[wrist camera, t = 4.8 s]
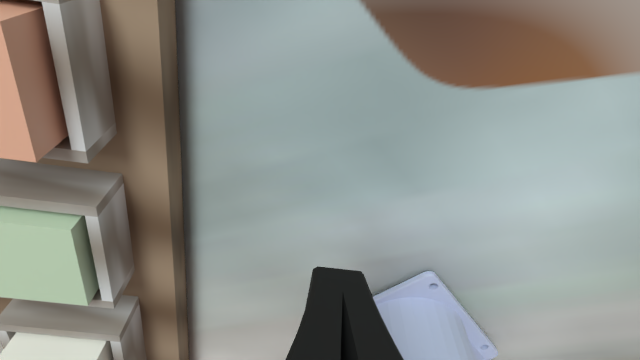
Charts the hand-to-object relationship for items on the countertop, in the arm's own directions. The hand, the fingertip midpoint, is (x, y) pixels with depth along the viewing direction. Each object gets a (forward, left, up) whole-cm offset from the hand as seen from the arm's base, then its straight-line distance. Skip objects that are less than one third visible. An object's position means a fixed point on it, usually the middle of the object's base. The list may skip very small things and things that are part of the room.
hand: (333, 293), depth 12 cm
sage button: (+5, +12, -7) cm, 15 cm away
